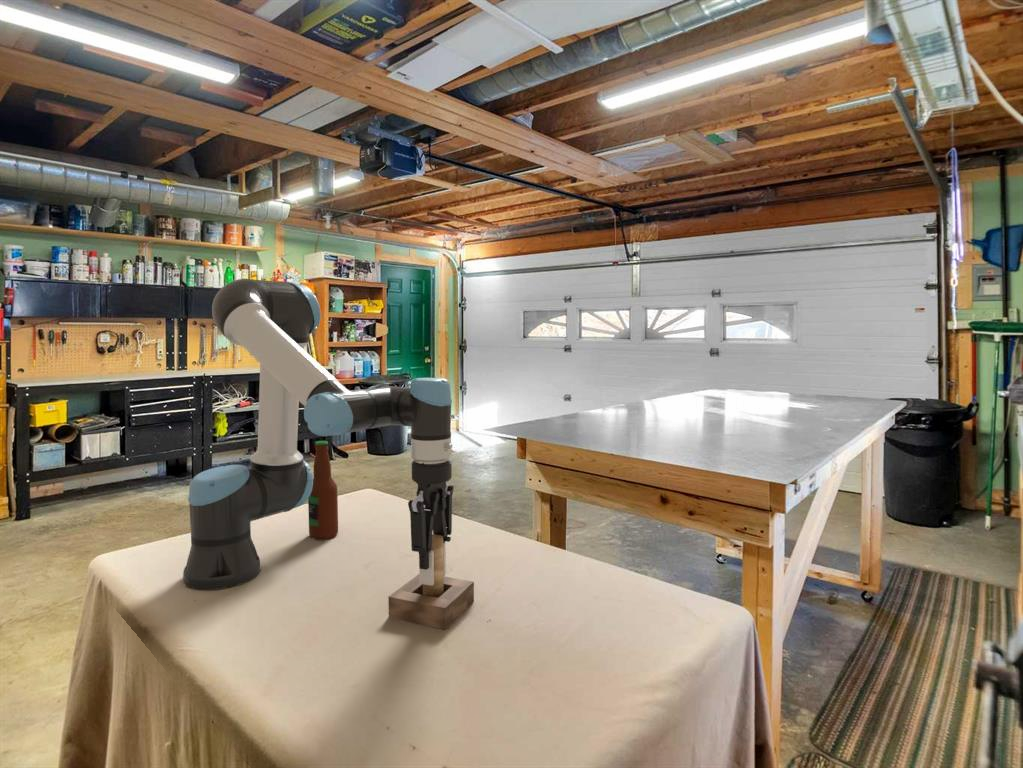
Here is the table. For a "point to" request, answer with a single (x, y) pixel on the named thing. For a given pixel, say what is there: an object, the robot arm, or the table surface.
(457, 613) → the walnut socket
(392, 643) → the table surface
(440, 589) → the oak peg
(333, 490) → the bottle
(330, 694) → the table surface
